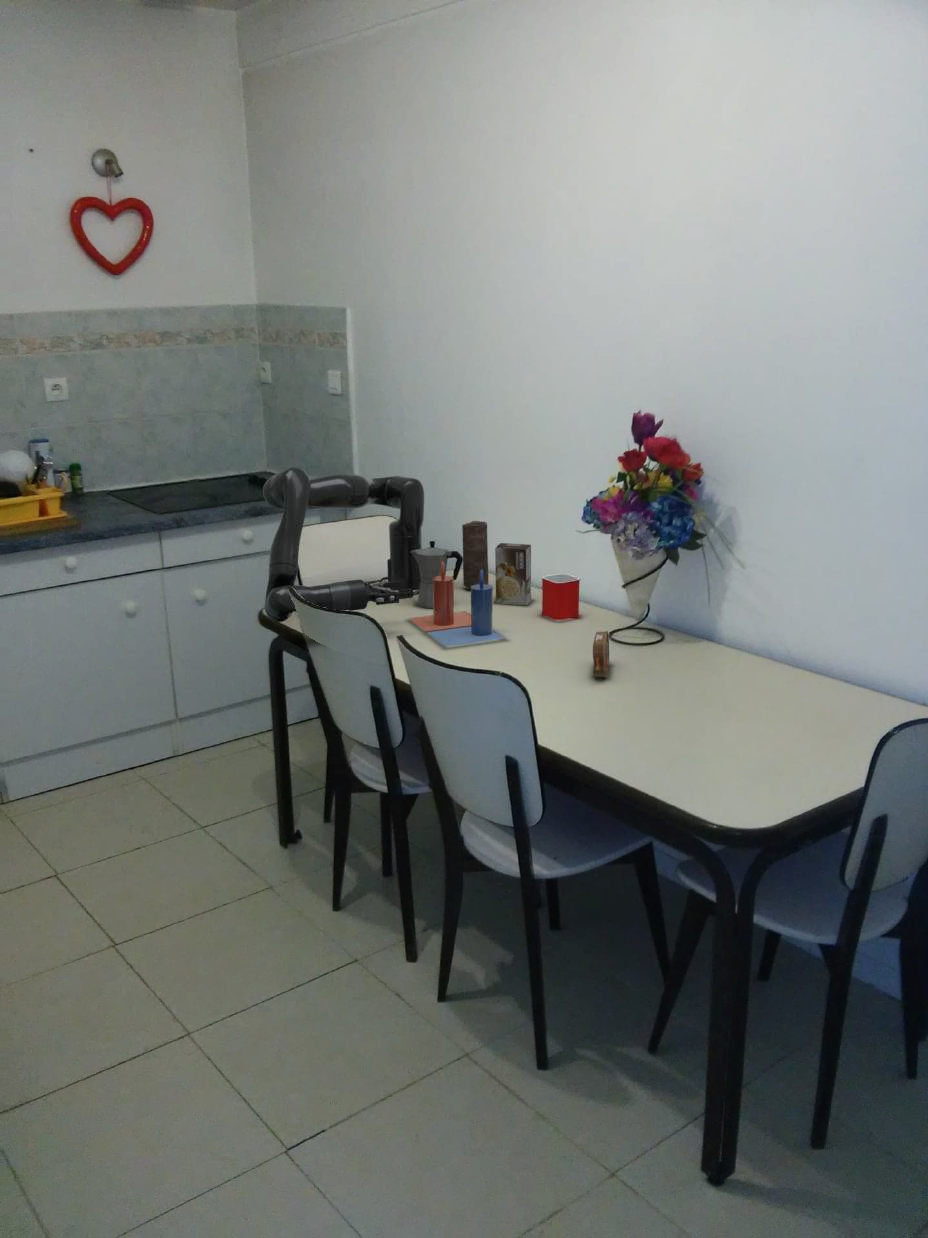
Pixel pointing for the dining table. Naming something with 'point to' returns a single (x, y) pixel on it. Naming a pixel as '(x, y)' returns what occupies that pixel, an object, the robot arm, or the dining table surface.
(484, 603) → the blue spoon cup
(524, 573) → the coffee box
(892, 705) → the dining table surface
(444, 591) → the terracotta spoon cup
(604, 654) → the tin
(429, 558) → the coffeepot
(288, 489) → the robot arm
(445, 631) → the board
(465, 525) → the candle
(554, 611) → the mug
